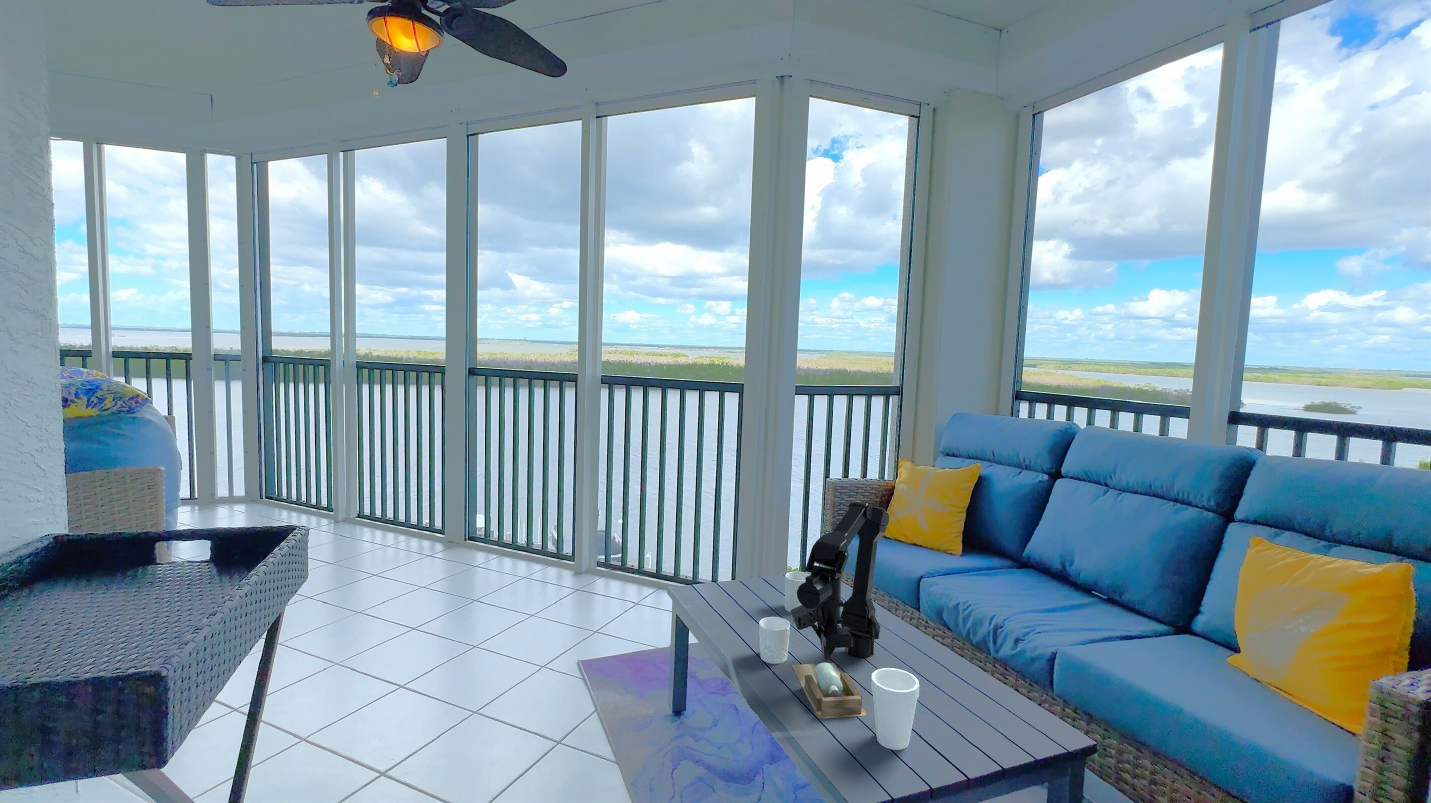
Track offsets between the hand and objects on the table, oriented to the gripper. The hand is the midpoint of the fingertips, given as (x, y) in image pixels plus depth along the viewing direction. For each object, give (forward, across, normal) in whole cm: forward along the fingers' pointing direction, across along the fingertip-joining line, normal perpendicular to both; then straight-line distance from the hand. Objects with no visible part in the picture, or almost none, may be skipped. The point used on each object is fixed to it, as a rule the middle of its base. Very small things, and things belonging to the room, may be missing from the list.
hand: (826, 659), depth 148 cm
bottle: (+4, -1, 0) cm, 4 cm away
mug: (+8, -44, +6) cm, 45 cm away
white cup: (+8, -15, -9) cm, 19 cm away
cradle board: (+8, +1, 0) cm, 8 cm away
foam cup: (+8, +20, +8) cm, 23 cm away
